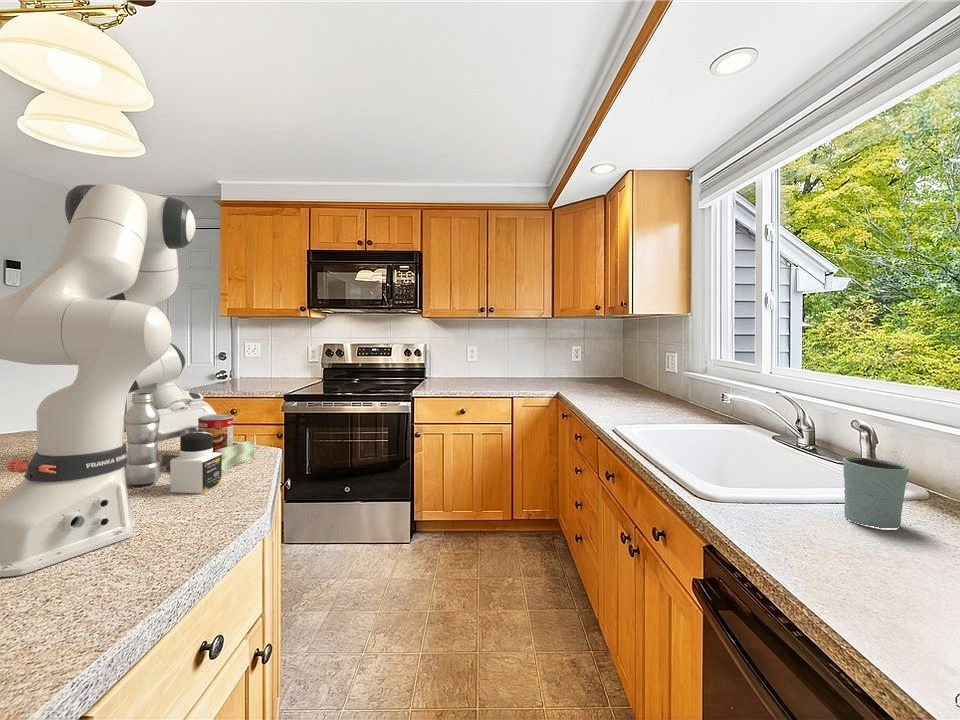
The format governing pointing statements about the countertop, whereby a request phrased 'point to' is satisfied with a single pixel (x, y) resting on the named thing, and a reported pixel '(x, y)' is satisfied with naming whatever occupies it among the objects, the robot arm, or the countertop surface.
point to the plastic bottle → (142, 441)
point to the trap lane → (226, 455)
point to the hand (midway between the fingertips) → (200, 444)
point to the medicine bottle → (196, 465)
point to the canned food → (218, 429)
